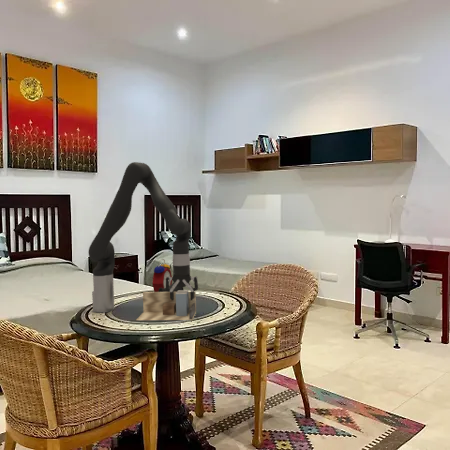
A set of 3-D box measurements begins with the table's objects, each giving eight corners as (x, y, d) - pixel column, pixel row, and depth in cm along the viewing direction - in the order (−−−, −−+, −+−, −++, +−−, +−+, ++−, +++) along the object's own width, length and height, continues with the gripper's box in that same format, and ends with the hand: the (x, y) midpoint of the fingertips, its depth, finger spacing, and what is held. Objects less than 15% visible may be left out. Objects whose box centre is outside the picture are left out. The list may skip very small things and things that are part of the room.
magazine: (159, 293, 206) (180, 265, 234) (153, 293, 207) (174, 265, 234) (165, 325, 212) (184, 294, 239) (158, 325, 213) (178, 294, 240)
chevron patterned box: (135, 322, 190) (134, 299, 190) (144, 313, 205) (143, 292, 204) (191, 322, 189) (191, 298, 188) (196, 313, 204) (195, 291, 203)
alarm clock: (163, 297, 240) (162, 260, 239) (148, 296, 242) (147, 260, 241) (173, 291, 254) (171, 256, 253) (158, 291, 256) (157, 256, 255)
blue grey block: (176, 316, 195) (175, 293, 195) (178, 312, 202) (178, 290, 202) (186, 316, 195) (186, 293, 194) (188, 312, 202) (188, 290, 201)
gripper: (163, 265, 194) (164, 302, 195) (196, 264, 193) (197, 301, 194) (166, 262, 202) (167, 298, 203) (198, 262, 201) (199, 298, 202)
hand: (182, 300), depth 198 cm, fingers open, 8 cm apart
